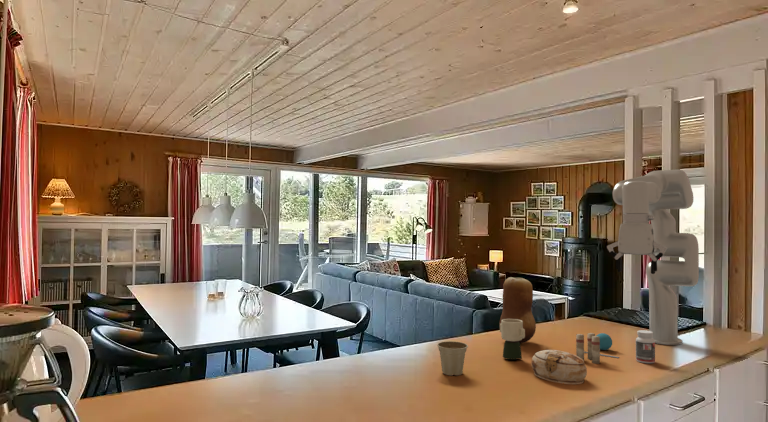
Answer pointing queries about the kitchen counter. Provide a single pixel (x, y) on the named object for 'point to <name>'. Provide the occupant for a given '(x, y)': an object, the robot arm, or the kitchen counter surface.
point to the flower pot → (452, 357)
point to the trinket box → (559, 367)
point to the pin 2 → (595, 349)
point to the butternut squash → (519, 304)
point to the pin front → (590, 344)
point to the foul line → (605, 355)
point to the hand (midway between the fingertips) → (636, 272)
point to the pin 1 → (580, 346)
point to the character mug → (512, 337)
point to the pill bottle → (645, 347)
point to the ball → (605, 341)
